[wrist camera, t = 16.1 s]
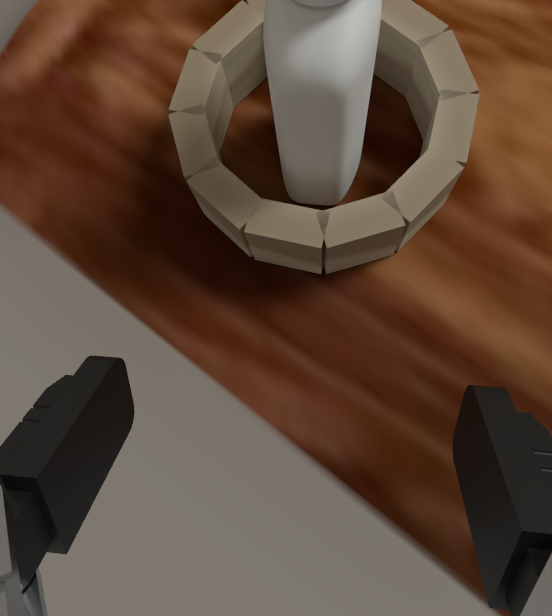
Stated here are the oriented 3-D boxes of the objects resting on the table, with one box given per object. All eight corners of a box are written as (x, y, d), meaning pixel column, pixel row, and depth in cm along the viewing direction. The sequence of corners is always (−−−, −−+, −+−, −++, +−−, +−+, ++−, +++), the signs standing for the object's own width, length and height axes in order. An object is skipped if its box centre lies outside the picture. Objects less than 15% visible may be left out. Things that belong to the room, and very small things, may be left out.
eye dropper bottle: (243, 173, 21) (150, -132, 10) (319, 81, 22) (316, -304, 10) (324, 226, 20) (329, -41, 9) (400, 128, 21) (497, -238, 9)
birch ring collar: (494, 225, 20) (524, 190, 17) (226, 303, 20) (210, 281, 17) (402, 8, 23) (414, -54, 20) (168, 78, 23) (146, 27, 20)
